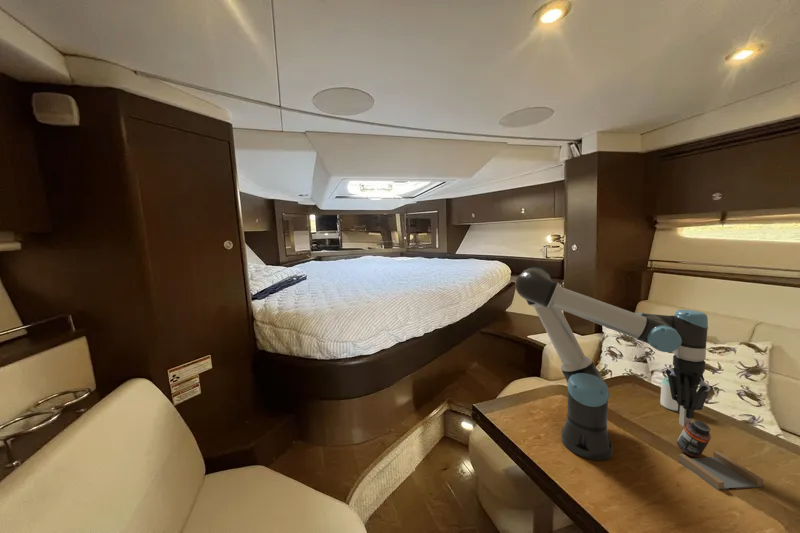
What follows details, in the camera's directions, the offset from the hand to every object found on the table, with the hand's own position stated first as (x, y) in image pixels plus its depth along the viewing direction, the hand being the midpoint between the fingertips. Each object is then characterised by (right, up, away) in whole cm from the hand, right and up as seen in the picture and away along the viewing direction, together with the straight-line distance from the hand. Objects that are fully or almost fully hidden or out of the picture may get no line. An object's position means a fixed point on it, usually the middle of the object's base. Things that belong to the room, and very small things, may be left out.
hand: (684, 424), depth 97 cm
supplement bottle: (0, -8, -1) cm, 8 cm away
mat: (+1, -9, -9) cm, 13 cm away
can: (+19, -6, +25) cm, 31 cm away
